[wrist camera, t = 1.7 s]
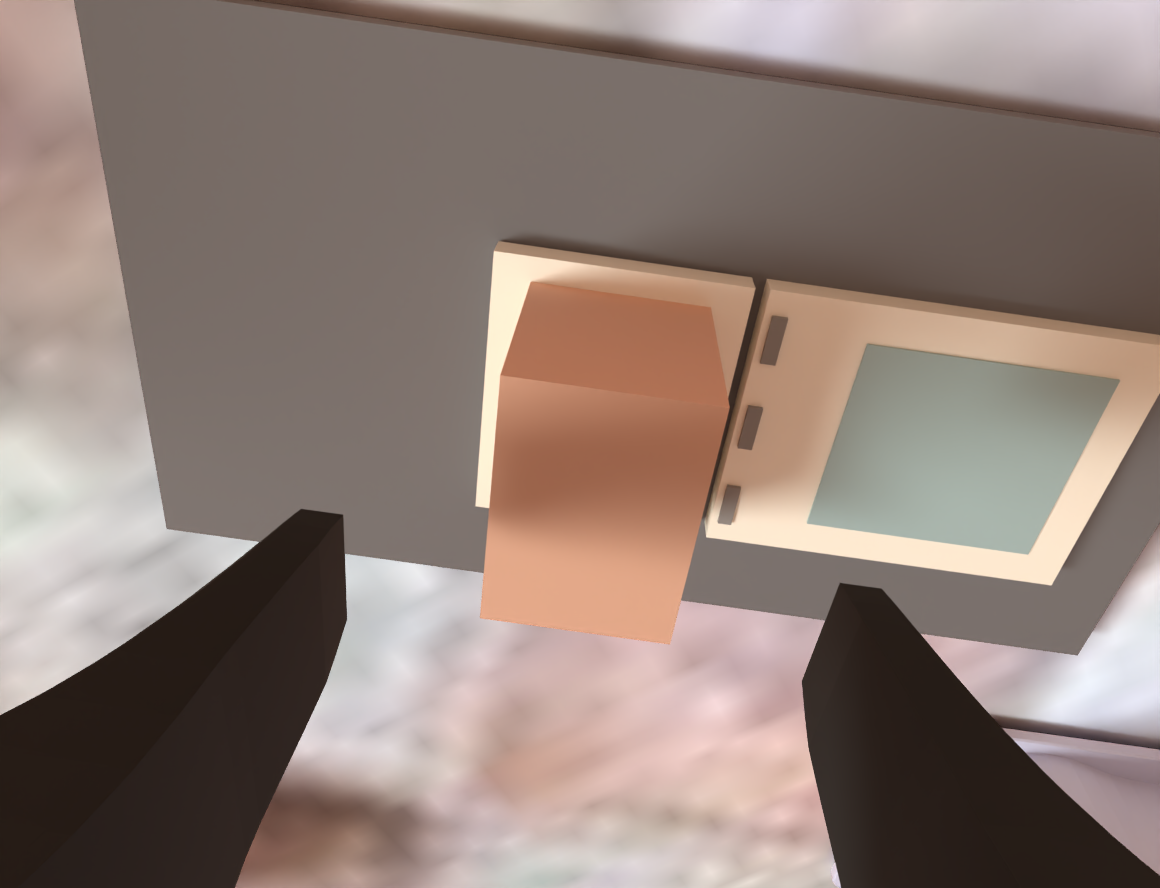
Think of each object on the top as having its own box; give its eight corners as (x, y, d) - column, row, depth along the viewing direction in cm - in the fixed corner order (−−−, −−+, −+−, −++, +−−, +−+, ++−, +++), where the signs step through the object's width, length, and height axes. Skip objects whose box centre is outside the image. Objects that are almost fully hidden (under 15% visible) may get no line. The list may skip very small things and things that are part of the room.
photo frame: (1168, 335, 16) (1187, 351, 16) (1040, 568, 19) (1053, 588, 19) (767, 278, 16) (771, 291, 16) (704, 521, 19) (706, 540, 19)
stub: (751, 277, 16) (787, 385, 12) (692, 521, 19) (705, 669, 15) (498, 240, 16) (452, 338, 12) (479, 491, 19) (438, 632, 15)
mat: (1346, 159, 15) (1378, 170, 14) (1064, 632, 21) (1077, 655, 21) (96, -23, 15) (70, -21, 14) (182, 509, 21) (166, 528, 20)
